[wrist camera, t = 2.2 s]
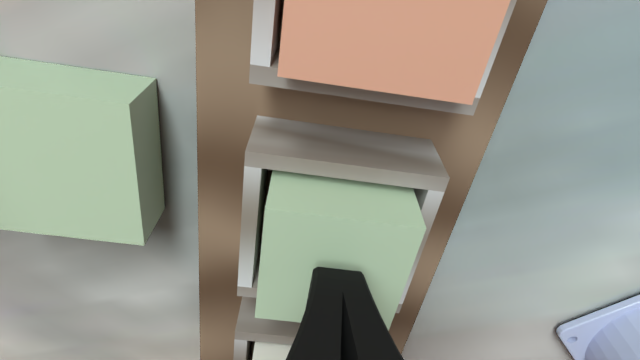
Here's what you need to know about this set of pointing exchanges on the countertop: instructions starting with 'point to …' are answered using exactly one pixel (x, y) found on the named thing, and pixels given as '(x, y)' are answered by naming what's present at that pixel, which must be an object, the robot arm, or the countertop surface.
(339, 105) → the button console
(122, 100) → the block
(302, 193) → the sage button
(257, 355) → the cream button
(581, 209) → the countertop surface
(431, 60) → the terracotta button
